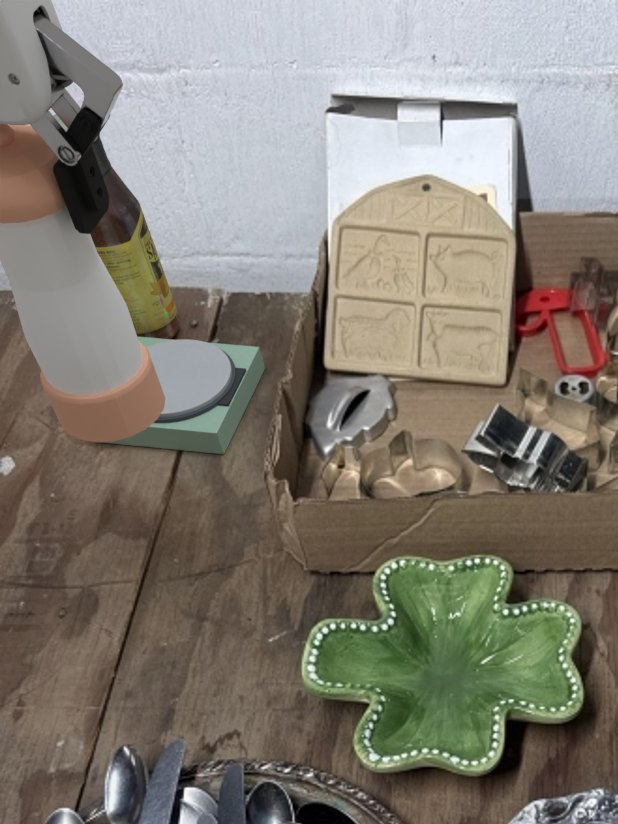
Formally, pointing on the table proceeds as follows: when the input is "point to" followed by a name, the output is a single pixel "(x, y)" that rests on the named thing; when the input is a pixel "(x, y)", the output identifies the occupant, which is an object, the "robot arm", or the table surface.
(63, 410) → the pepper shaker
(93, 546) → the table surface
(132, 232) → the sauce bottle
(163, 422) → the scale
